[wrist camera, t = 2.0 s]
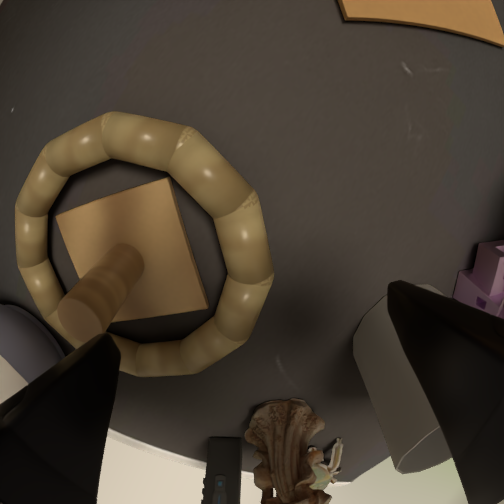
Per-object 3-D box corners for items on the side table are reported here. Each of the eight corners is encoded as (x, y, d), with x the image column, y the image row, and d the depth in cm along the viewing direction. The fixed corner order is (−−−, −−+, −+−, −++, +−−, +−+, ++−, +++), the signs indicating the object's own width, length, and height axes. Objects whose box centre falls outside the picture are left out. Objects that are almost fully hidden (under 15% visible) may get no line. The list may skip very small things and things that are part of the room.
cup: (418, 261, 17) (512, 359, 7) (459, 317, 19) (523, 398, 10) (329, 345, 19) (367, 470, 10) (387, 382, 21) (425, 475, 12)
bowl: (10, 234, 15) (-78, 297, 7) (134, 386, 21) (103, 481, 12) (-35, 307, 19) (-82, 356, 10) (53, 409, 24) (25, 468, 15)
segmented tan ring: (232, 78, 13) (228, 67, 10) (288, 343, 19) (292, 367, 17) (5, 173, 14) (-17, 181, 12) (89, 364, 20) (78, 383, 18)
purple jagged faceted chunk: (464, 242, 16) (518, 281, 11) (515, 235, 16) (562, 266, 10) (442, 332, 19) (476, 379, 14) (493, 316, 19) (527, 353, 14)
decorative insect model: (375, 450, 25) (374, 485, 21) (313, 471, 30) (308, 501, 26) (324, 430, 24) (319, 471, 20) (262, 453, 30) (254, 486, 25)
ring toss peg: (170, 176, 15) (119, 207, 8) (209, 303, 18) (193, 383, 12) (59, 213, 15) (-9, 255, 9) (104, 319, 18) (64, 384, 12)
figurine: (318, 383, 21) (355, 560, 7) (333, 417, 23) (363, 558, 9) (233, 407, 22) (229, 573, 8) (260, 437, 24) (264, 573, 10)
